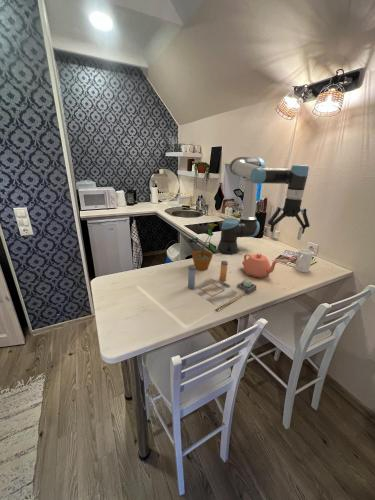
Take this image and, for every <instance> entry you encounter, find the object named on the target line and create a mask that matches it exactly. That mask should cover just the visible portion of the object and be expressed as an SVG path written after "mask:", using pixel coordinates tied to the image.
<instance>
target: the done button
mask: <svg viewBox="0 0 375 500" xmlns="http://www.w3.org/2000/svg"><path fill="white" fill-rule="evenodd" d="M242 282H243V286H244V287H246V288H250V287H251V285H252V284H253V283H252V280H251V279H248V278H245V279H243V281H242Z"/></svg>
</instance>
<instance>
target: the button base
mask: <svg viewBox="0 0 375 500" xmlns="http://www.w3.org/2000/svg"><path fill="white" fill-rule="evenodd" d="M236 287H237V288H239V289H240V290H242V291H244V294H247V295H249V294H251V293H253V292H255V291H257V285H256V284H254V283H252V285H251V287H250V288H246V287H244V286H243V281H241V282H239V283H238V284H237V285H236Z"/></svg>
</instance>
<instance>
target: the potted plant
mask: <svg viewBox="0 0 375 500" xmlns="http://www.w3.org/2000/svg"><path fill="white" fill-rule="evenodd" d="M206 226H209V227H208V228H207V230H205V232H204V234H206V235H207V236H208V237H207V238H206V240H205V242H204V245H202V244H201V243H200V241H199V239H198V237H196V238H188V242H190V244H191V243H194V244H197V243H198V244H200V246H201V247H202V250H201V249H199V250H195V251H193V252H192V253H191V258H192V260H193V265H194V266H195V267H196V269H195V271H196V270H197V271H202V272H203V271H208V270H209V267H210V264H211V261H212V258H213V253H212V252H210V251H208V250H204V249H205V246H206V244H208V246H207V248H209V249H211V251H214V252H215V253H216V252H217V251H216V250H217V245H215V244H213V243H212V242H211V238H212V236H214V233H213V232H212V229H213V228H214V227H216V226H217V224H214V223H206ZM210 228H211V229H210ZM208 240H209V241H208Z"/></svg>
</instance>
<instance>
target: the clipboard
mask: <svg viewBox="0 0 375 500" xmlns="http://www.w3.org/2000/svg"><path fill="white" fill-rule="evenodd" d="M186 287H187V288H188V286H186ZM188 289H189V288H188ZM189 290H191V292H193V293H195V294H197V295H198V296H200V297H201V298H202V299H205V300H206V301H207V302H209V303H210V304H212V305H213V306H215V307H216V308H215V309H216V310H217V311H218V310H219V309H221V308H223V307H225V306H226V307H228V306H229V305H228V304H230V303H231V304H233V303H234V301H235V300H236V301H238V300H239V298H240V299H241V298H242V296H243V297H245V293H243V292H242V293H240V292H237V291H236V290H234V289H233V288H231V285H230V284H228V283H226V282H225V281H217V280H216V279H214V278H212V277H209V276H208V277H207V278H205V279H202V280H200V281H198V282H195V286H194V289H189ZM237 299H238V300H237ZM236 301H235V302H236ZM232 302H233V303H232ZM231 304H230V305H231ZM227 305H228V306H227ZM226 307H225V308H226ZM223 309H224V308H223ZM216 310H215V311H216ZM221 310H222V309H221ZM217 311H216V312H217ZM218 312H219V311H218Z"/></svg>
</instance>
